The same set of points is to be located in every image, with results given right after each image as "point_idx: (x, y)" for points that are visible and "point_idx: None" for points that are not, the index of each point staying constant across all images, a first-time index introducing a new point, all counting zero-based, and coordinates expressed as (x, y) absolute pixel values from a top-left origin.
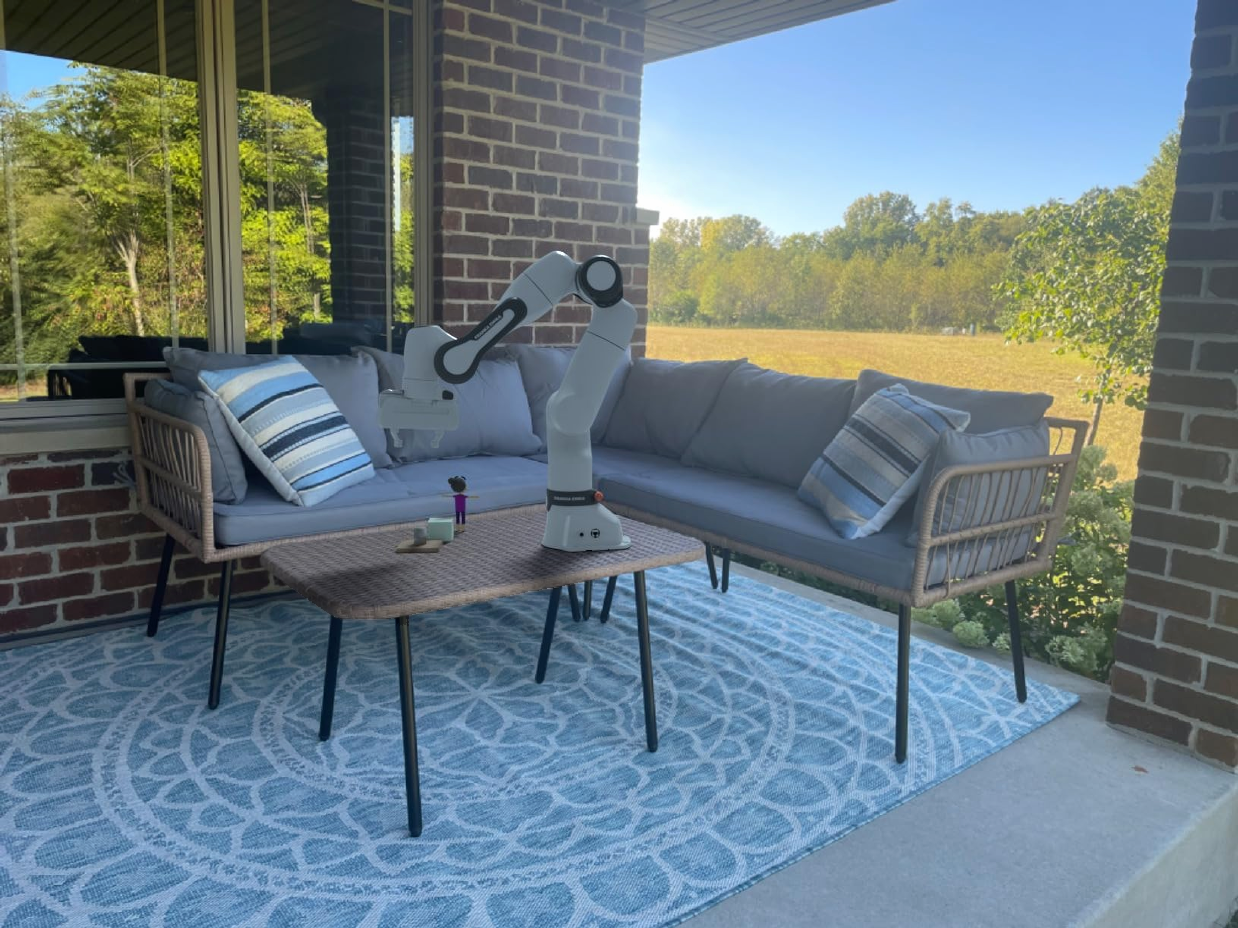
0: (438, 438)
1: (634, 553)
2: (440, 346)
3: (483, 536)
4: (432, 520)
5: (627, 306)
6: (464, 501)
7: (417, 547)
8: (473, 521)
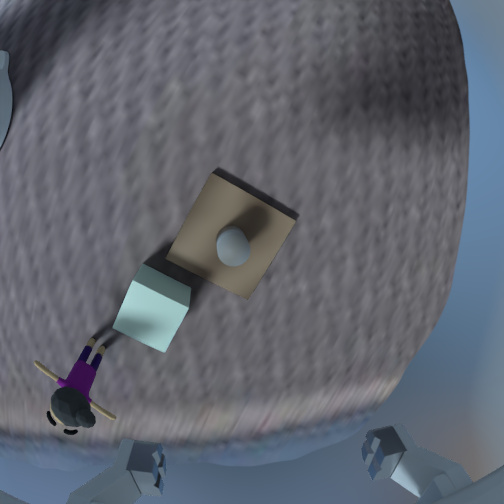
0: (113, 481)
1: None
2: None
3: (68, 273)
4: (170, 322)
5: None
6: (69, 374)
7: (252, 204)
8: None
